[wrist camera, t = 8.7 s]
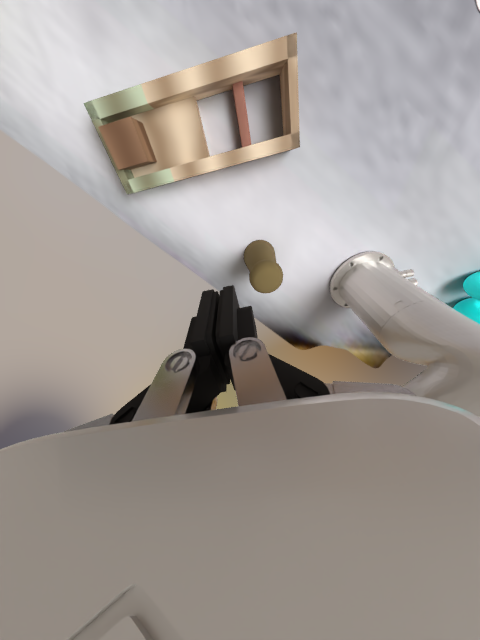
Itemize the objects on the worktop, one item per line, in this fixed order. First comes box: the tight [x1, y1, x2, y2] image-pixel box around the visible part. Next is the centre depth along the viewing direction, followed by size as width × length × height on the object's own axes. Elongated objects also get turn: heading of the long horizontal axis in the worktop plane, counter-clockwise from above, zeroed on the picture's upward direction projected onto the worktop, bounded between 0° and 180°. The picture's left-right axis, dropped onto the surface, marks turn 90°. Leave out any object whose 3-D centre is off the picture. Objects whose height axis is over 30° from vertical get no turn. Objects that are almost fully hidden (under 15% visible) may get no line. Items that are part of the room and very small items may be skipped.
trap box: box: [84, 32, 300, 194], centre depth 26 cm, size 24×9×4 cm, turn 102°
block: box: [98, 117, 157, 170], centre depth 25 cm, size 4×4×4 cm
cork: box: [244, 240, 283, 293], centre depth 34 cm, size 6×6×11 cm
